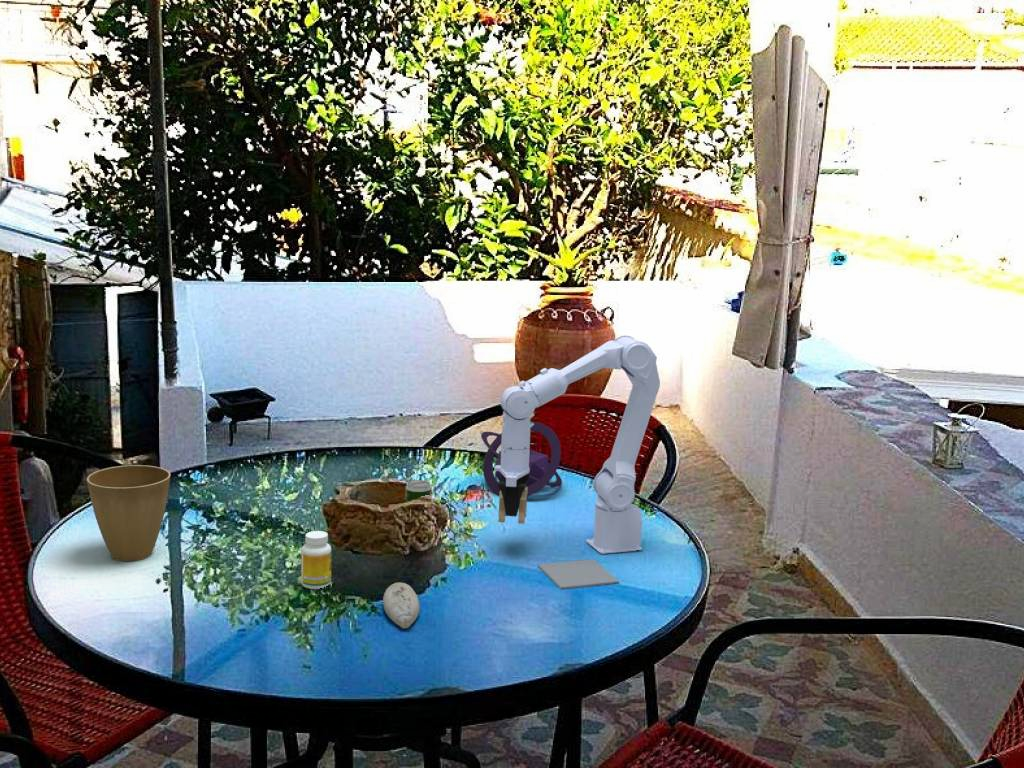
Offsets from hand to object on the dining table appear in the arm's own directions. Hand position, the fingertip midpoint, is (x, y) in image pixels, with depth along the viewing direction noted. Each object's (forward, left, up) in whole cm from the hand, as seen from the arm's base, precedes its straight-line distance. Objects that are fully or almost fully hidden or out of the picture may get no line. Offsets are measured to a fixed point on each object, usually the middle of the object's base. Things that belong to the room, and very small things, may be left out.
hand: (512, 511), depth 202 cm
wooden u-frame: (0, 0, -2) cm, 2 cm away
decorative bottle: (-17, -41, -8) cm, 45 cm away
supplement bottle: (+41, +9, -8) cm, 43 cm away
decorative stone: (+29, +25, -9) cm, 39 cm away
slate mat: (-8, +16, -8) cm, 20 cm away
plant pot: (+73, -14, -8) cm, 75 cm away
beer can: (+17, -11, -8) cm, 22 cm away
